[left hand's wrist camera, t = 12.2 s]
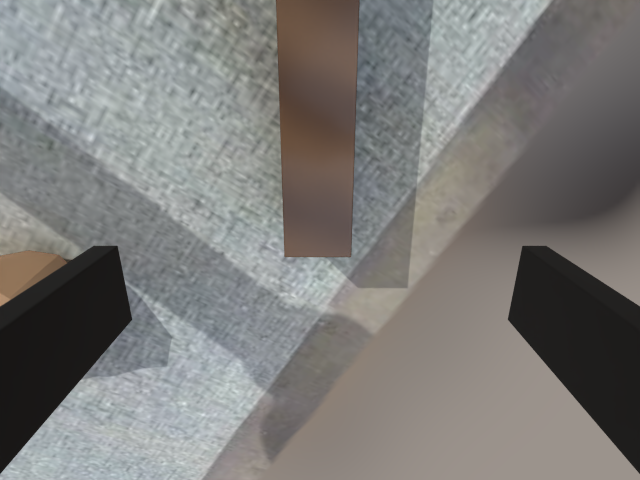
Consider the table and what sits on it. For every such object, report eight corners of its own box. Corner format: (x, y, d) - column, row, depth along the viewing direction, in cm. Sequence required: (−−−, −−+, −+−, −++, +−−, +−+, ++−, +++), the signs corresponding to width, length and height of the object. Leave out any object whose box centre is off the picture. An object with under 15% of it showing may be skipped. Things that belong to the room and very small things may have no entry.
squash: (128, 273, 37) (86, 342, 30) (55, 380, 45) (6, 457, 38) (10, 213, 33) (-74, 277, 26) (-48, 342, 41) (-126, 420, 33)
